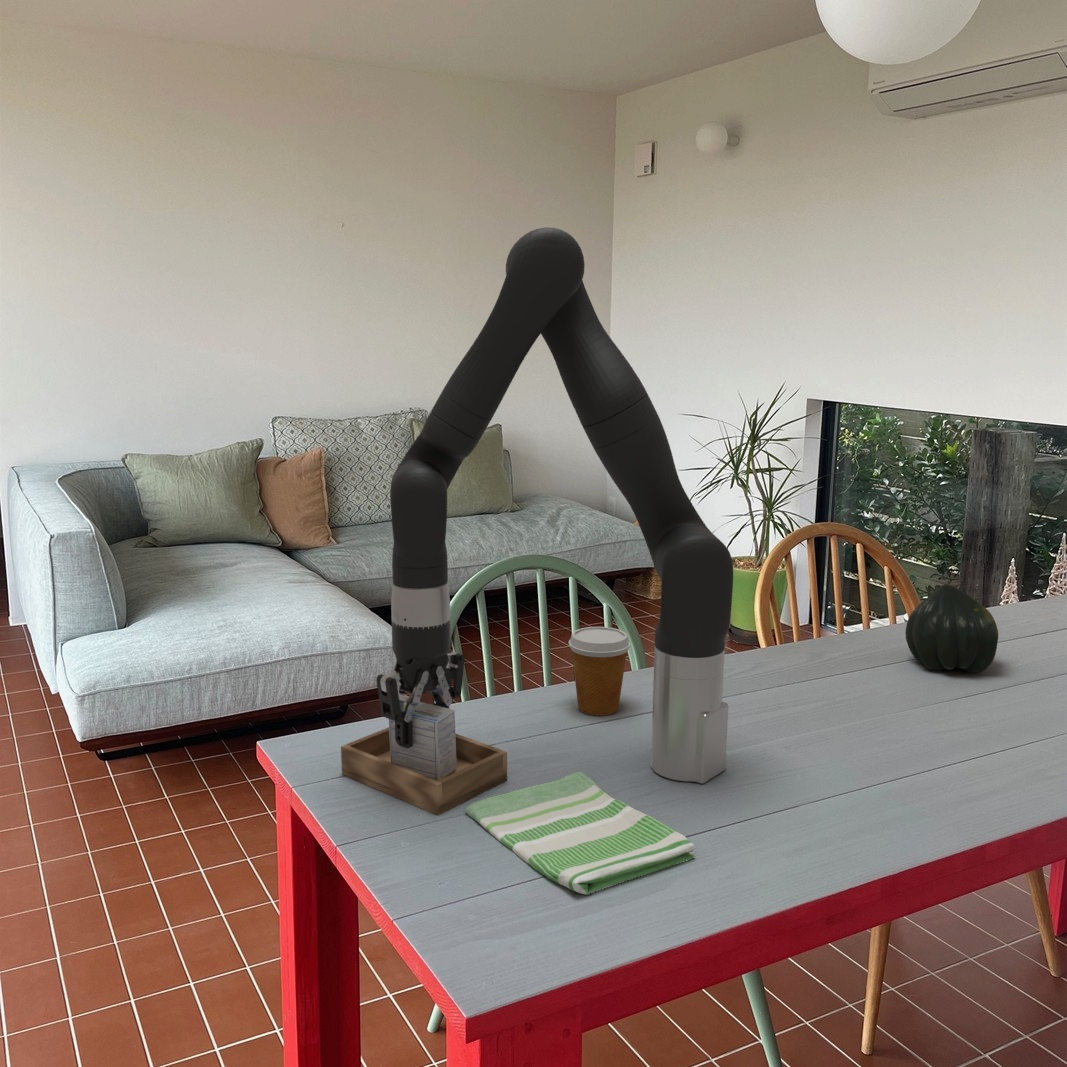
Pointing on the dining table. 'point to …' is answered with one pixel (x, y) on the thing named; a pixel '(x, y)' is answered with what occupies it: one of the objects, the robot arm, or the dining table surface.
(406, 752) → the medicine box
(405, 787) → the tray
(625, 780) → the dining table surface
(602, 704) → the disposable coffee cup
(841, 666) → the dining table surface
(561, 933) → the dining table surface
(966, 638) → the squash
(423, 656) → the robot arm
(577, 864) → the dish towel
